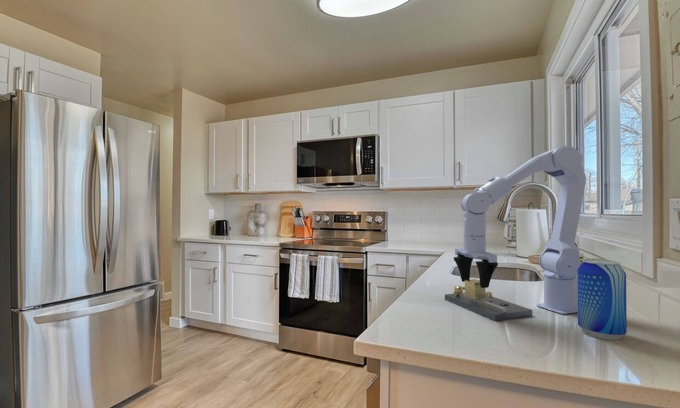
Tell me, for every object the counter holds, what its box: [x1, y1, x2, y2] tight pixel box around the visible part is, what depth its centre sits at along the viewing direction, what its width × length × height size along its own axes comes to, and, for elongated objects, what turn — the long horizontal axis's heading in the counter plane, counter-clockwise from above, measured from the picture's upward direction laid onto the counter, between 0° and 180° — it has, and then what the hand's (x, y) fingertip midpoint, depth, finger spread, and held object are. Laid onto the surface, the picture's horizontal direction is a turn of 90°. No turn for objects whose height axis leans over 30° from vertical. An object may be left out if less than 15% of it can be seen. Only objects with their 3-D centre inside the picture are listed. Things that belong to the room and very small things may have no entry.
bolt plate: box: [444, 285, 533, 322], centre depth 92 cm, size 12×20×4 cm, turn 18°
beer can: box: [576, 258, 628, 341], centre depth 73 cm, size 8×8×16 cm
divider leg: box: [464, 278, 493, 299], centre depth 93 cm, size 8×4×5 cm, turn 108°
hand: (474, 284), depth 92 cm, fingers open, 7 cm apart
